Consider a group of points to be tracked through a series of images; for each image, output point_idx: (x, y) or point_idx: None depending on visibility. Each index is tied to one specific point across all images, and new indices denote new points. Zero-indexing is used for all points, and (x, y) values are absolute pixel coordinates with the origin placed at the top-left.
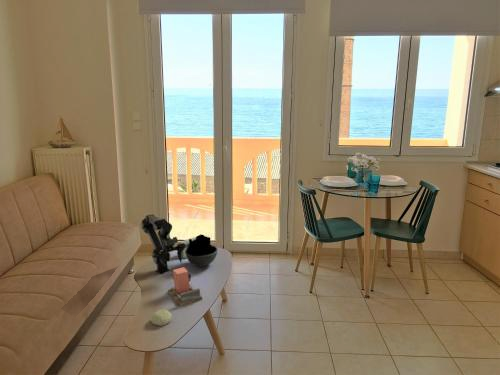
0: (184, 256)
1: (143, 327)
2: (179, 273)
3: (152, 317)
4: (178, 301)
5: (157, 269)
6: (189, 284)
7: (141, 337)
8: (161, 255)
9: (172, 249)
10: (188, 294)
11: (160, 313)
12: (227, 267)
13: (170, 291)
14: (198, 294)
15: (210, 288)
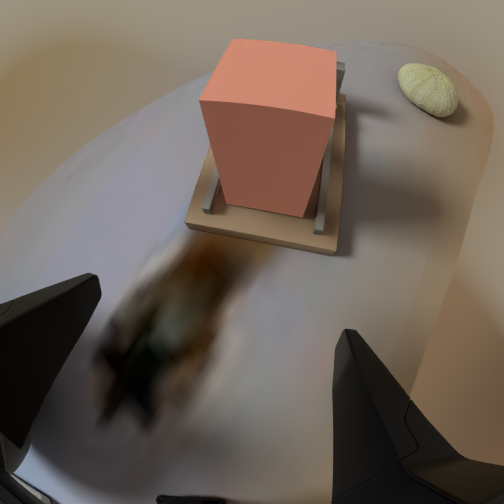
0: (43, 500)
1: (470, 118)
2: (313, 48)
3: (457, 94)
4: (344, 110)
5: None
6: (191, 205)
7: (471, 97)
8: (446, 475)
9: (12, 501)
10: None
11: (438, 73)
12: None
13: (337, 214)
14: None
15: (142, 135)
